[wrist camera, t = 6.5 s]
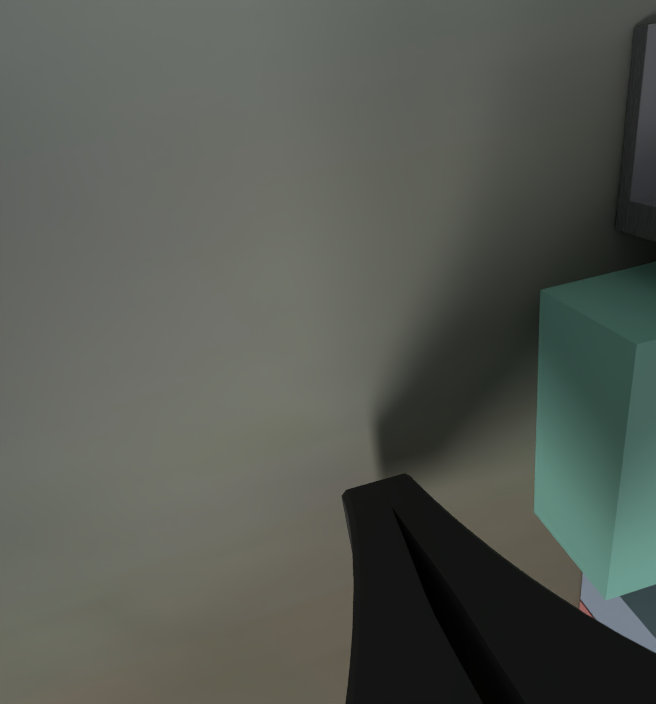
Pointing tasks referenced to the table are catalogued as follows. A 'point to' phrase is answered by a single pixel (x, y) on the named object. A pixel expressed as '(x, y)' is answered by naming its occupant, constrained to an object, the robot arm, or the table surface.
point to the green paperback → (600, 426)
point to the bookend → (640, 141)
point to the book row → (624, 612)
